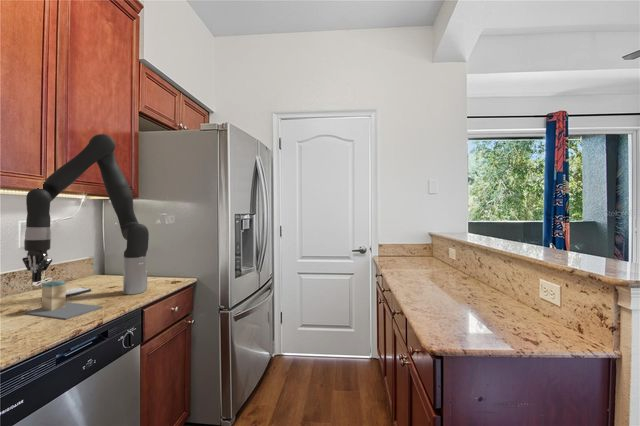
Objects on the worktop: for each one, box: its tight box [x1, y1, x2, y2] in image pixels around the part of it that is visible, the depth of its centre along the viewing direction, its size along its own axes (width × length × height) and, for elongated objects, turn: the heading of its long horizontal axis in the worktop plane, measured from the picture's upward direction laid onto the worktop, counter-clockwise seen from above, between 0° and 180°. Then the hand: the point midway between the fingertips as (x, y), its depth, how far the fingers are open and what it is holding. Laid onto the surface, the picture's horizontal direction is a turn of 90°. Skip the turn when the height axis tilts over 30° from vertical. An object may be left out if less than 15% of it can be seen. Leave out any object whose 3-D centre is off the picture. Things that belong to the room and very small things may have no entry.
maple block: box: [41, 280, 67, 311], centre depth 116 cm, size 5×5×10 cm
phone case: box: [66, 286, 92, 298], centre depth 137 cm, size 9×2×16 cm
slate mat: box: [22, 301, 104, 320], centre depth 115 cm, size 14×21×1 cm, turn 77°
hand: (36, 281), depth 118 cm, fingers closed
